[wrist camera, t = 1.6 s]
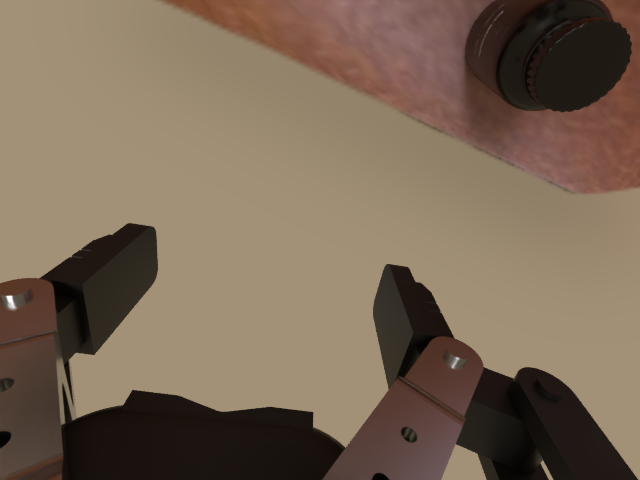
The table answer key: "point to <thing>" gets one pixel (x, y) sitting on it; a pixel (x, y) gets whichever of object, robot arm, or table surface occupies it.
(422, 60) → the table surface
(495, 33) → the supplement bottle
